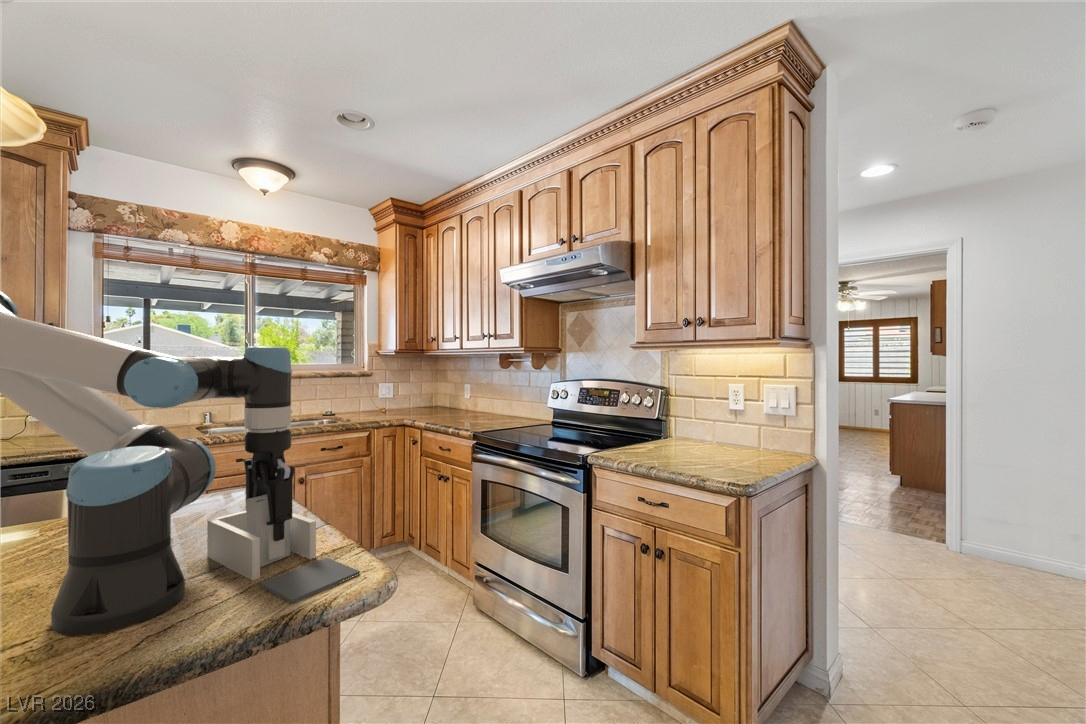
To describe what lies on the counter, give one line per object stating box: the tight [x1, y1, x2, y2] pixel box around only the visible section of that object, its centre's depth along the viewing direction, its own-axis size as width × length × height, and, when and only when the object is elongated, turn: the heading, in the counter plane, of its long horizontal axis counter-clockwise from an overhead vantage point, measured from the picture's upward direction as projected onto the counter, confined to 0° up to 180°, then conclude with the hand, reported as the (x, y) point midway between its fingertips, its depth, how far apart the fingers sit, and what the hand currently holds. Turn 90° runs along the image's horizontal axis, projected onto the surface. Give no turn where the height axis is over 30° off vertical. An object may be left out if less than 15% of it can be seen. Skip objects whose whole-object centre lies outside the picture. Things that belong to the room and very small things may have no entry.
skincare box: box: [245, 494, 291, 568], centre depth 89 cm, size 6×4×12 cm
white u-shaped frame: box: [206, 510, 317, 581], centre depth 91 cm, size 11×17×7 cm, turn 56°
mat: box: [258, 557, 361, 604], centre depth 82 cm, size 12×10×1 cm
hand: (268, 553), depth 90 cm, fingers closed on skincare box, 4 cm apart
